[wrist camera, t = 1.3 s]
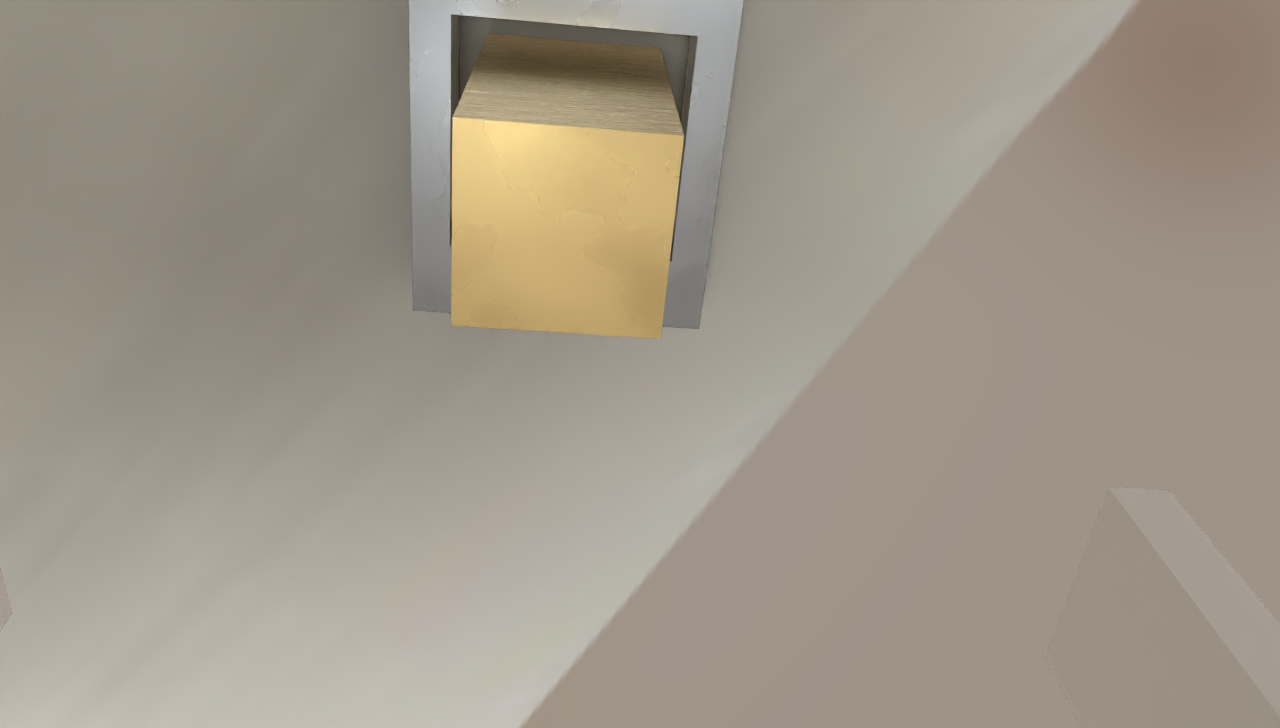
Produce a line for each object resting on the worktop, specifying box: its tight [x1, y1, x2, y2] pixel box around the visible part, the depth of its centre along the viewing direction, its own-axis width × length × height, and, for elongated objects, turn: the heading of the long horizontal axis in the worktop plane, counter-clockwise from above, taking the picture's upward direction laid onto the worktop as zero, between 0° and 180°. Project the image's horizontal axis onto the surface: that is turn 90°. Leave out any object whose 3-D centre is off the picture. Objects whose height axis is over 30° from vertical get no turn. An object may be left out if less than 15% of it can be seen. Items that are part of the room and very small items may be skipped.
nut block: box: [451, 34, 684, 339], centre depth 25 cm, size 4×4×8 cm
